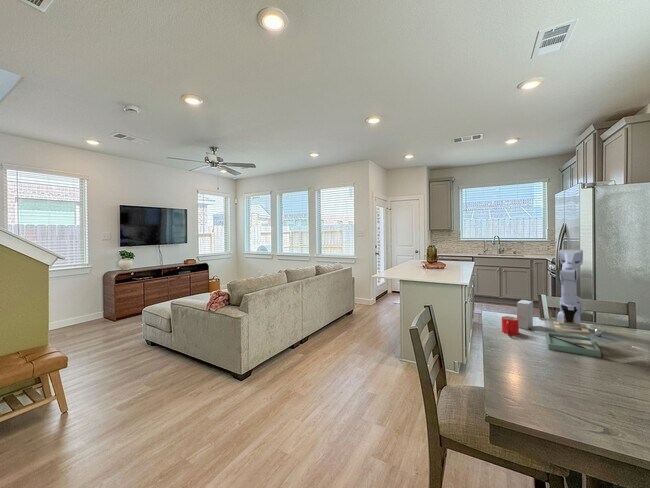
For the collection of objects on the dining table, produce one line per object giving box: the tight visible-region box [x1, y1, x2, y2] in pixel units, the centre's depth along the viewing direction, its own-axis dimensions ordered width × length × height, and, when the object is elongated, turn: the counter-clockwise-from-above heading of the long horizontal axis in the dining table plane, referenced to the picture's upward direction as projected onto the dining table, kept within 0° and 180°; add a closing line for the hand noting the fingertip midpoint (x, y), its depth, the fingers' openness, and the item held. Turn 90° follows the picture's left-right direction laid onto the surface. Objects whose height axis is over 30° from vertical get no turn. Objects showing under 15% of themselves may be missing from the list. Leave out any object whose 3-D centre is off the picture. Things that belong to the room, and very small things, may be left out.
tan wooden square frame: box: [553, 314, 590, 336], centre depth 137 cm, size 12×12×5 cm
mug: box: [501, 315, 520, 336], centre depth 156 cm, size 8×12×8 cm, turn 140°
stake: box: [589, 325, 607, 337], centre depth 144 cm, size 6×2×4 cm, turn 11°
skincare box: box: [516, 299, 534, 330], centre depth 165 cm, size 8×6×15 cm
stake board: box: [578, 329, 631, 344], centre depth 144 cm, size 15×15×2 cm
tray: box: [545, 331, 602, 358], centre depth 137 cm, size 18×18×2 cm
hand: (569, 321), depth 142 cm, fingers closed on tan wooden square frame
